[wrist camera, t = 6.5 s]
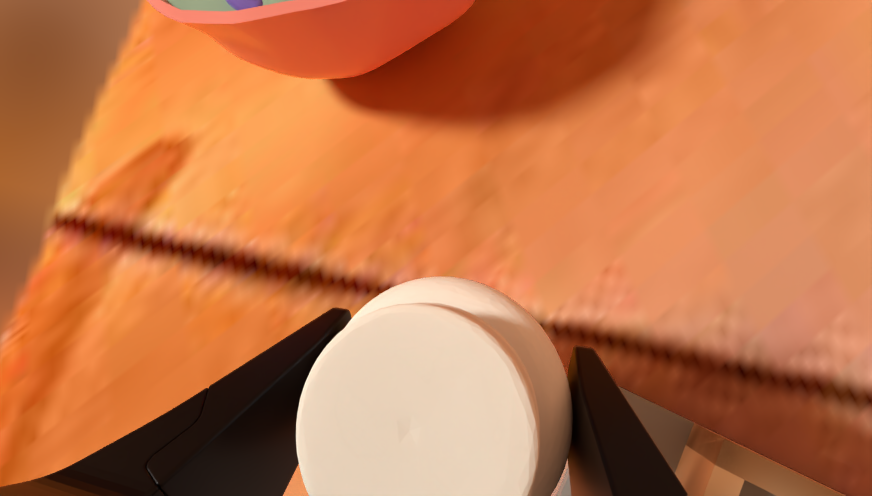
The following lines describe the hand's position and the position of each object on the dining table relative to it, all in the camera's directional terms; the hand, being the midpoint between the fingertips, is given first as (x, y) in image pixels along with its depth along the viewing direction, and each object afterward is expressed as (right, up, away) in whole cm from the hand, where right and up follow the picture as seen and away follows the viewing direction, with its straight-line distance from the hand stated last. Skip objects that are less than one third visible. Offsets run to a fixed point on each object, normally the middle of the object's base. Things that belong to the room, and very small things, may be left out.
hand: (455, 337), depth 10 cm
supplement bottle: (+1, -3, +6) cm, 7 cm away
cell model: (-5, +18, +16) cm, 25 cm away
